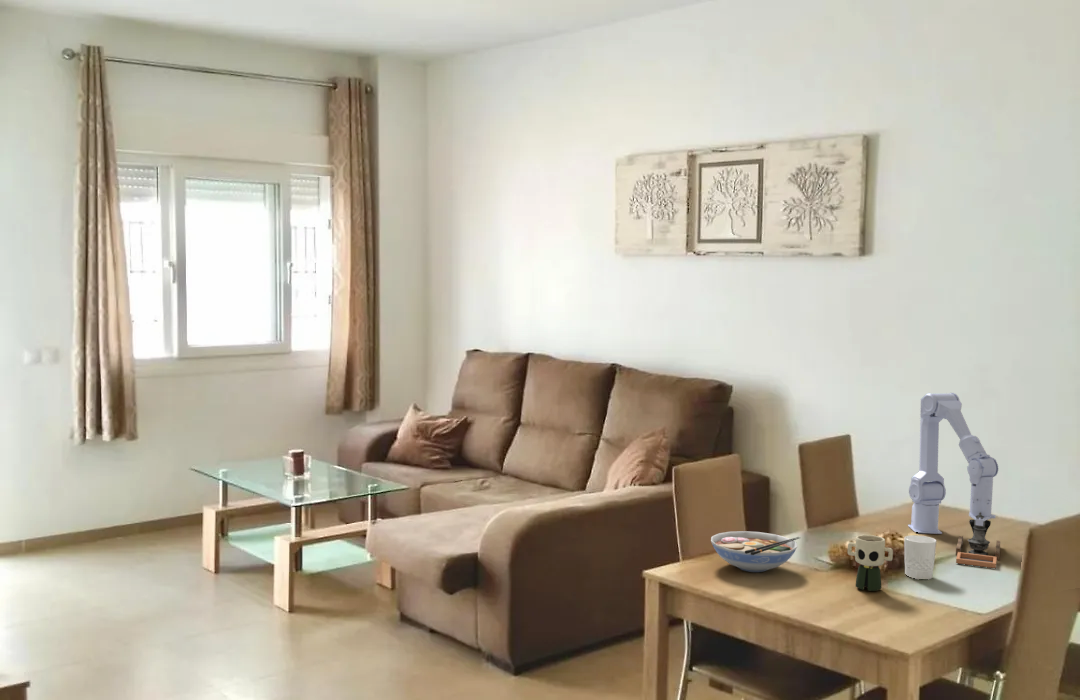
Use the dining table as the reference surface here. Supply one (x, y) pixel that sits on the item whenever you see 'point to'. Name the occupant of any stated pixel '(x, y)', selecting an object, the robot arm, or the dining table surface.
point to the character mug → (869, 560)
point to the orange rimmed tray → (960, 542)
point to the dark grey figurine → (978, 538)
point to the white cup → (919, 556)
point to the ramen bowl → (753, 549)
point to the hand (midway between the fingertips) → (978, 545)
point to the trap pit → (976, 560)
